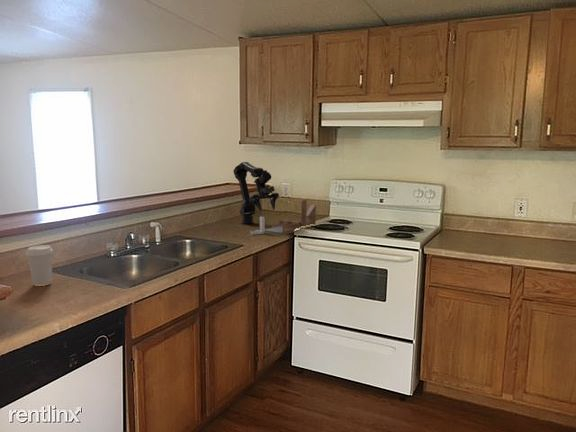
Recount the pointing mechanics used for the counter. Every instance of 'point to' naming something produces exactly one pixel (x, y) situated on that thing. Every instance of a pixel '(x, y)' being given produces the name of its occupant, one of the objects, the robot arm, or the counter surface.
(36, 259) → the coffee cup
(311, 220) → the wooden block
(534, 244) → the counter surface
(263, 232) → the bracket
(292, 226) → the walls
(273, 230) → the mat
